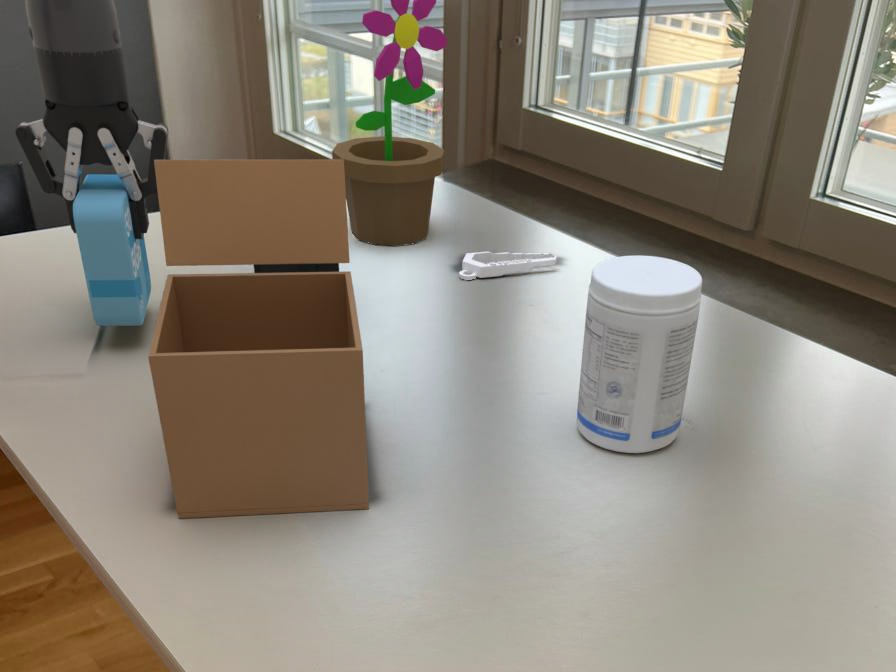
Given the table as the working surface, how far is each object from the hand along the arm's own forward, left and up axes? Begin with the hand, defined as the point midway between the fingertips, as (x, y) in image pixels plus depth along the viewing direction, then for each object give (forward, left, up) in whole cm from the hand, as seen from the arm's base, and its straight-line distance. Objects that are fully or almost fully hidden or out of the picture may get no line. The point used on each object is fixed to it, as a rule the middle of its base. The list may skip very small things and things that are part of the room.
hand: (112, 236), depth 99 cm
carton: (+15, -30, -10) cm, 35 cm away
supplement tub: (+47, -27, -10) cm, 55 cm away
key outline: (+43, +16, -10) cm, 47 cm away
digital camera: (+18, +8, -10) cm, 22 cm away
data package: (0, 0, -8) cm, 8 cm away
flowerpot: (+30, +30, -10) cm, 44 cm away
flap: (+15, -21, +8) cm, 27 cm away
